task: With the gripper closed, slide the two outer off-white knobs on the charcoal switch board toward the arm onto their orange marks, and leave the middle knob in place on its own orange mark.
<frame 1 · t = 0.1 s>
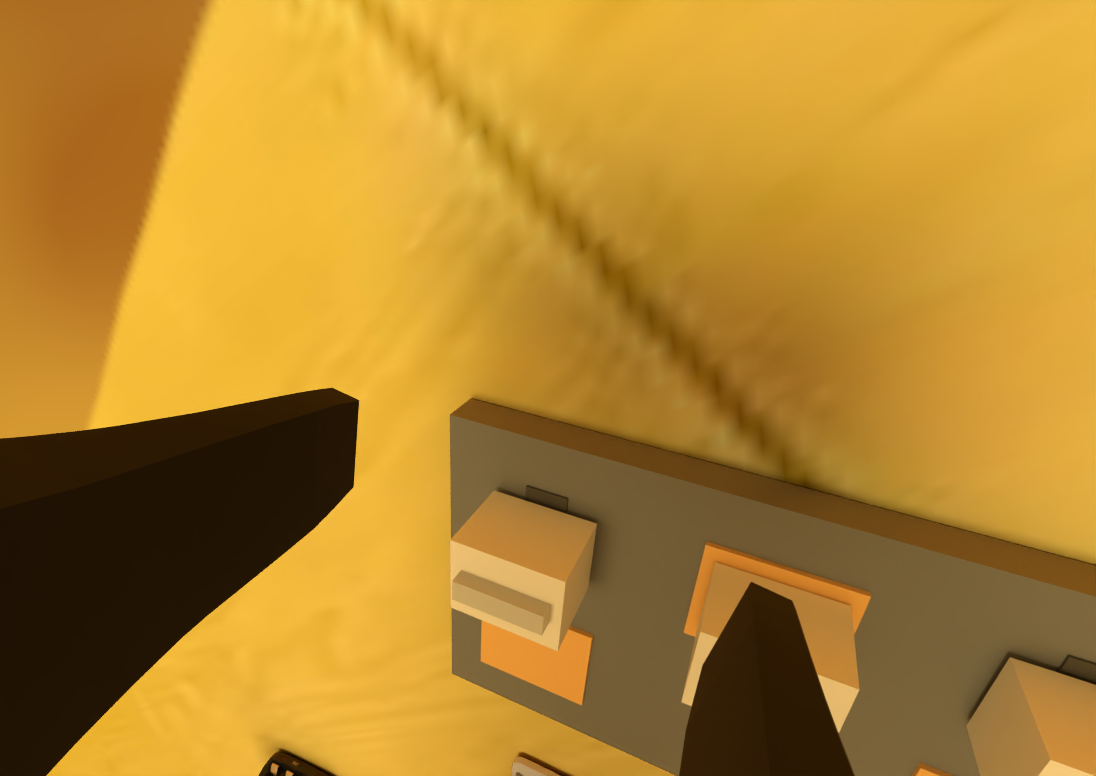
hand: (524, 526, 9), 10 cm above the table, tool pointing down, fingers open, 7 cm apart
switch a: (520, 570, 19), point 4 cm above the table, slide at 0.0 cm
switch board: (751, 641, 21), on the table
switch b: (765, 661, 16), point 4 cm above the table, slide at 0.0 cm
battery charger: (312, 768, 41), on the table
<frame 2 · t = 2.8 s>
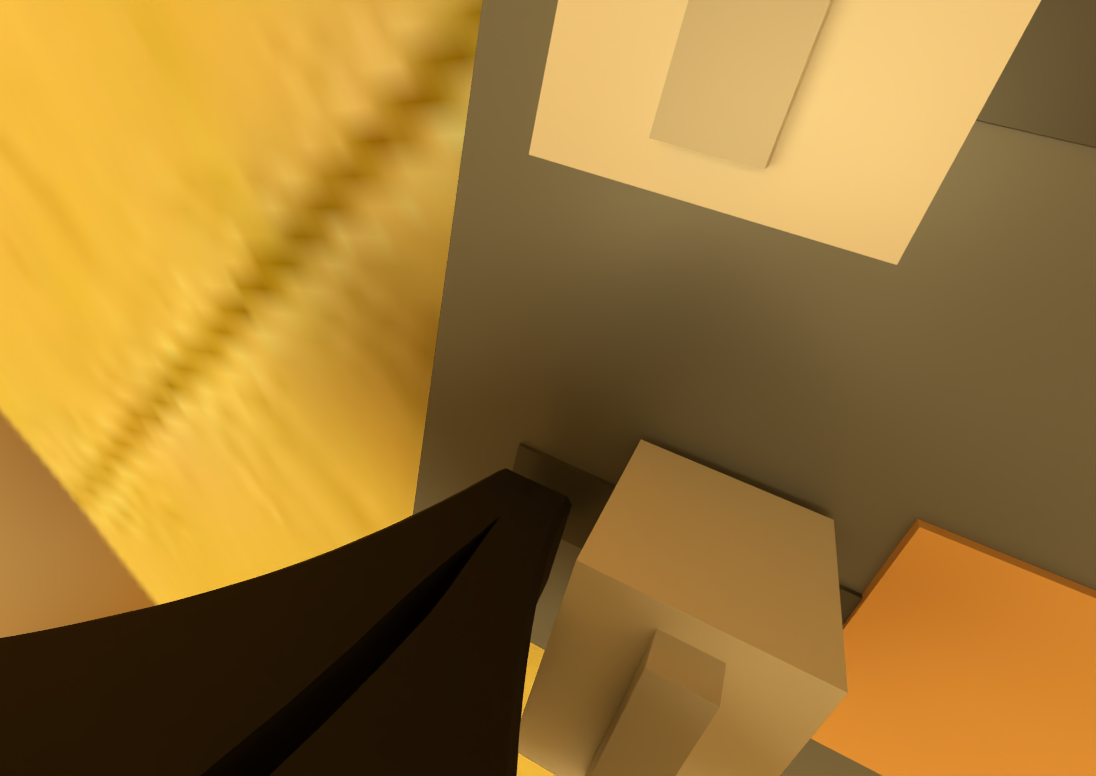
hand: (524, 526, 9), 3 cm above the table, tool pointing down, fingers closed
switch a: (667, 649, 8), point 4 cm above the table, slide at 1.5 cm, touching gripper
switch board: (1058, 69, 7), on the table
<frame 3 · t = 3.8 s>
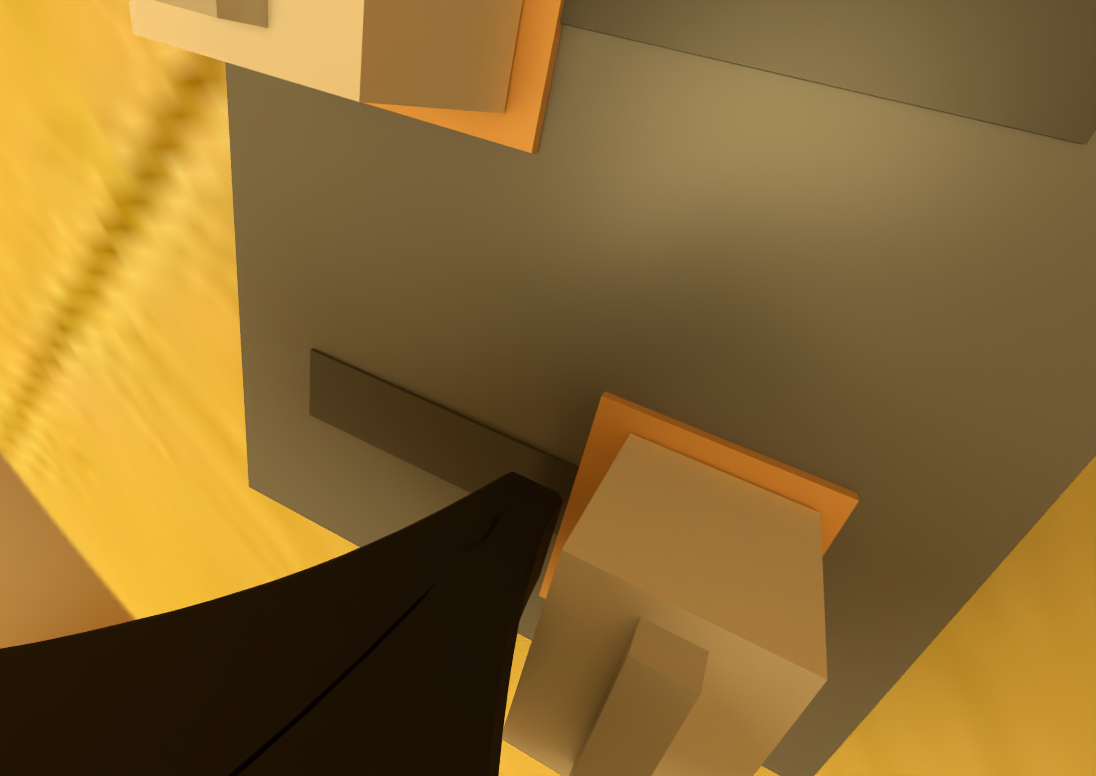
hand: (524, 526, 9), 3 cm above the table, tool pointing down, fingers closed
switch a: (654, 640, 8), point 4 cm above the table, slide at 6.1 cm, touching gripper
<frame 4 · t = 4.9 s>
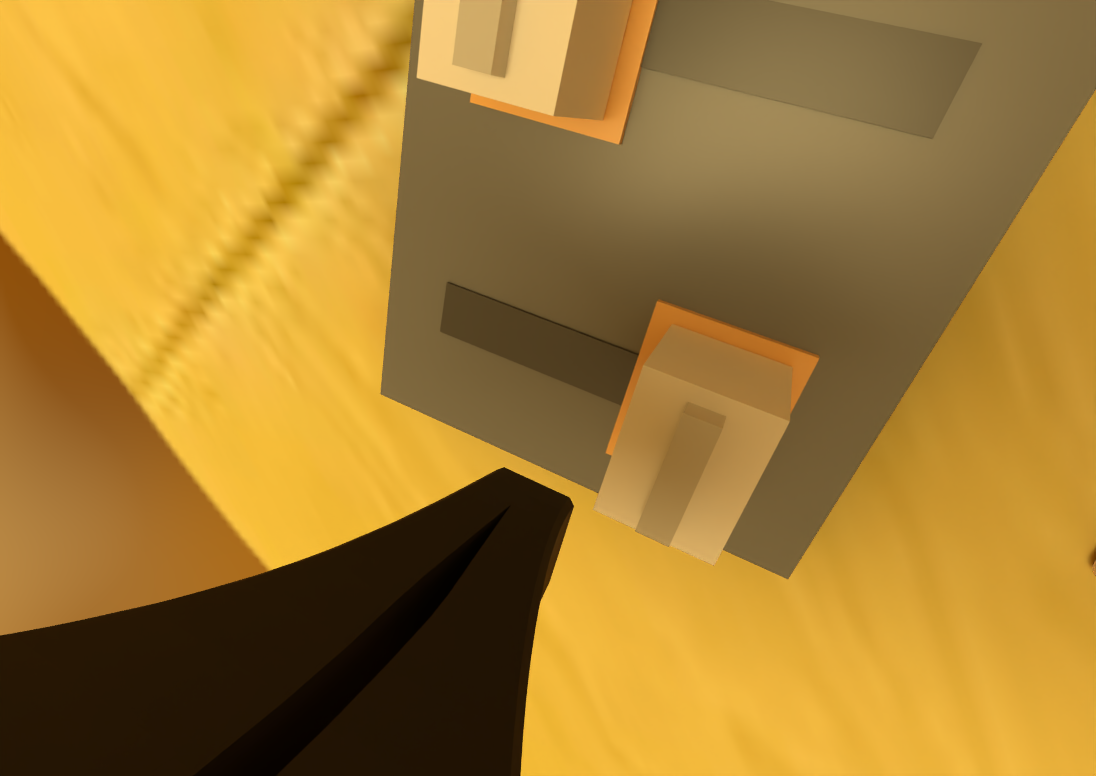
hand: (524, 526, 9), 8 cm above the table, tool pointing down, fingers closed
switch a: (690, 444, 13), point 4 cm above the table, slide at 6.1 cm
switch board: (708, 45, 13), on the table
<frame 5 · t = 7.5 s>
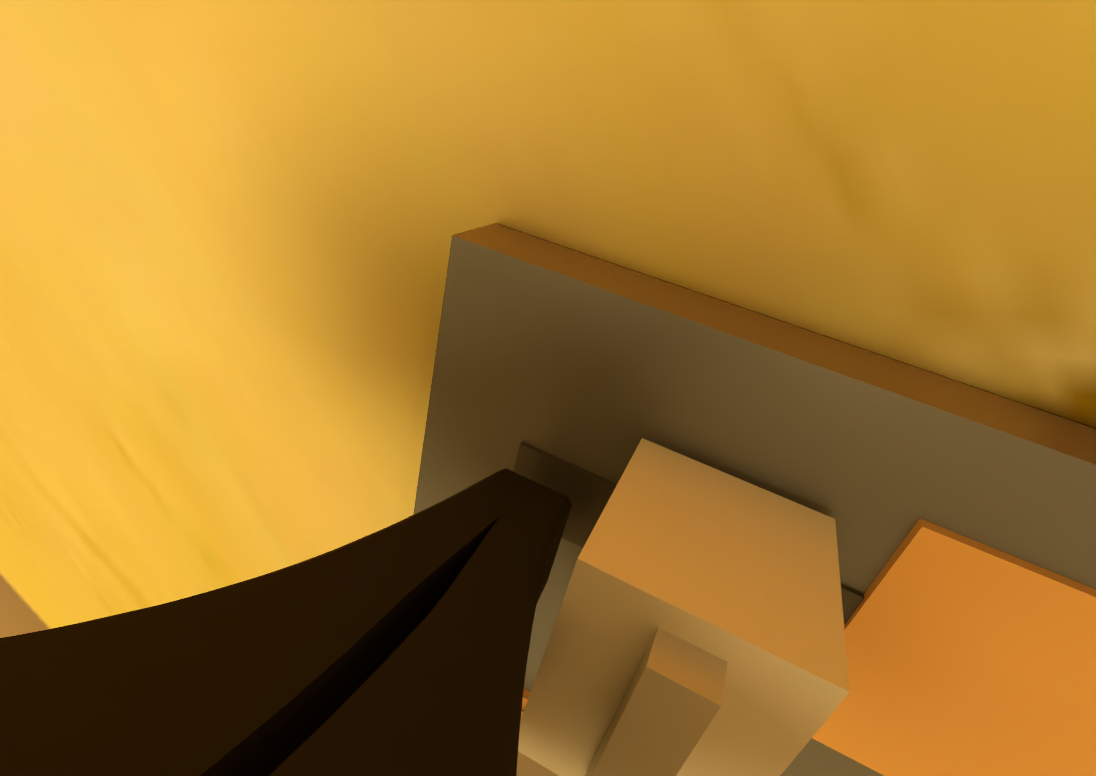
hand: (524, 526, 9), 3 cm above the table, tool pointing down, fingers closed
switch board: (650, 762, 14), on the table
switch c: (667, 648, 8), point 4 cm above the table, slide at 1.5 cm, touching gripper
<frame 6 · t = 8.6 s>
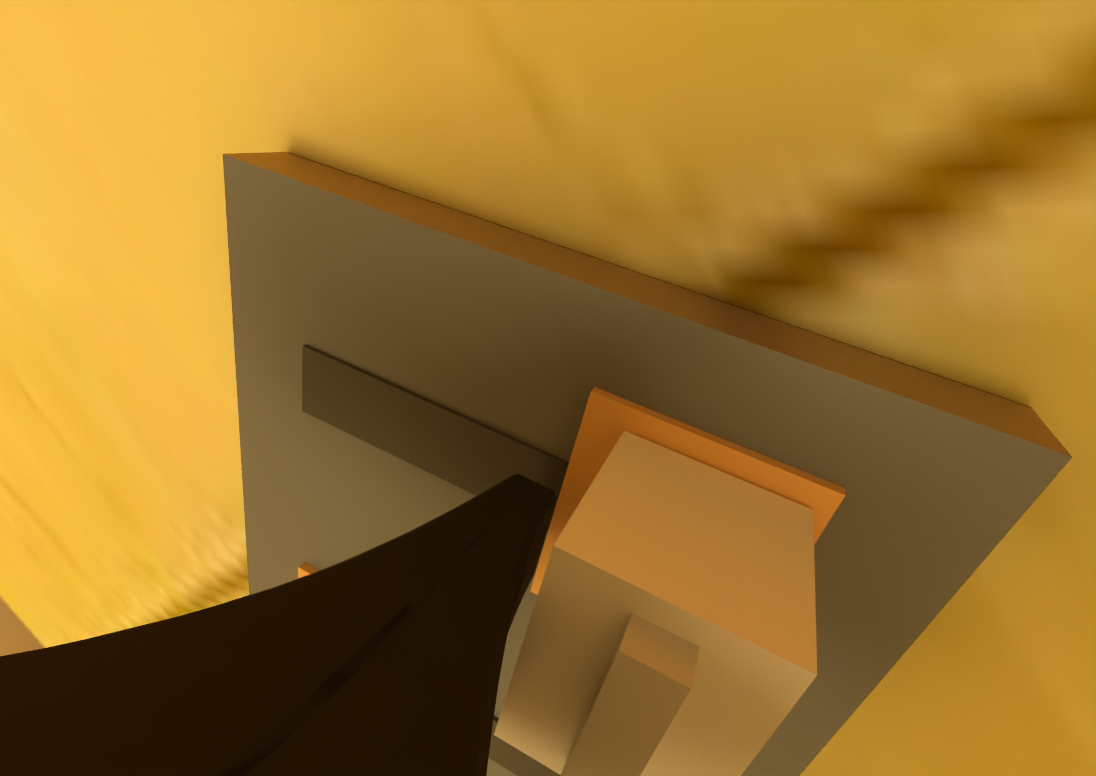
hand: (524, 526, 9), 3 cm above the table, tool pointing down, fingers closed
switch board: (483, 666, 16), on the table
switch c: (647, 637, 8), point 4 cm above the table, slide at 6.2 cm, touching gripper
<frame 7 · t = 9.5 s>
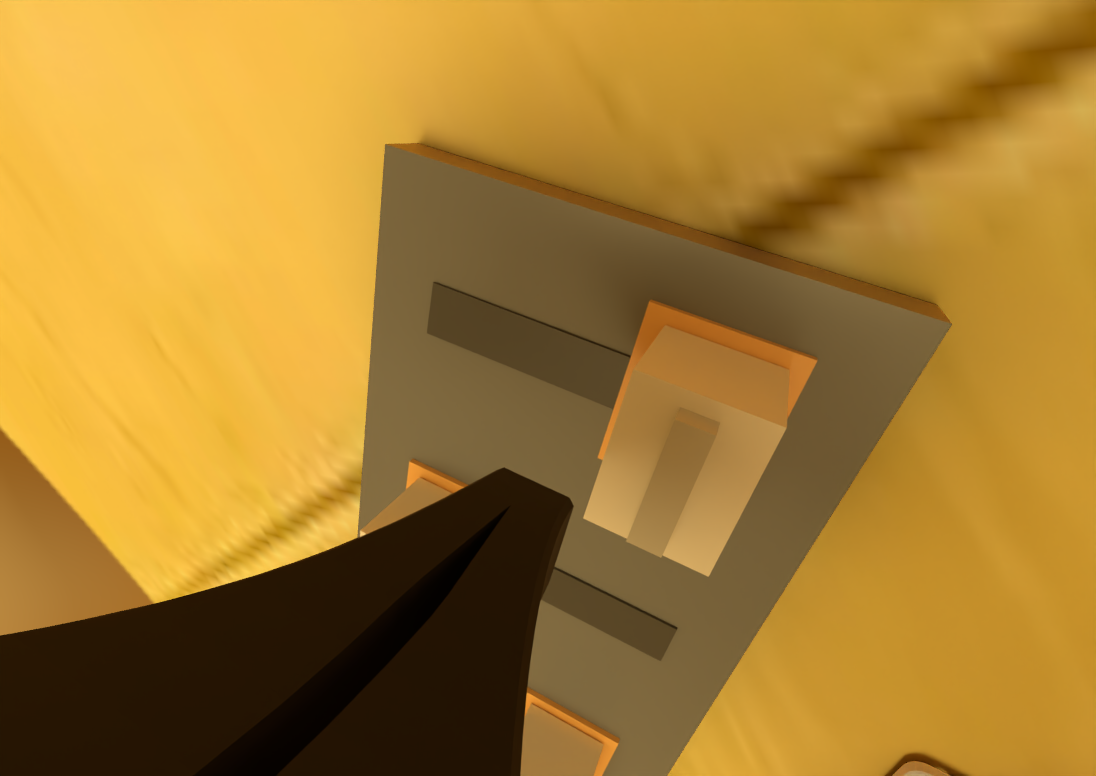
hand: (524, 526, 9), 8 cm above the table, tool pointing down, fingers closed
switch board: (546, 545, 20), on the table
switch b: (420, 572, 18), point 4 cm above the table, slide at 0.0 cm
switch c: (683, 450, 13), point 4 cm above the table, slide at 6.1 cm
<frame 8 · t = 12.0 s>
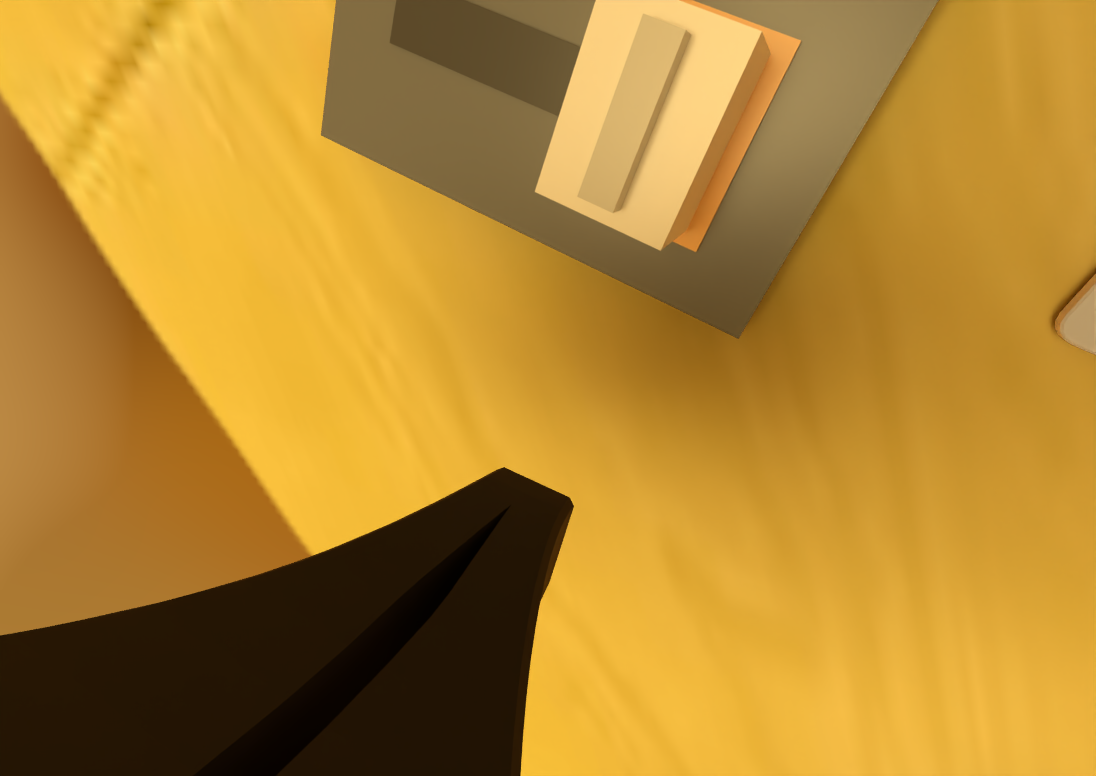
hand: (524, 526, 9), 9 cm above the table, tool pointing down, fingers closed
switch a: (649, 122, 12), point 4 cm above the table, slide at 6.1 cm
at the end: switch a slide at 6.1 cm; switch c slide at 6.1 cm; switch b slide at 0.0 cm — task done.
